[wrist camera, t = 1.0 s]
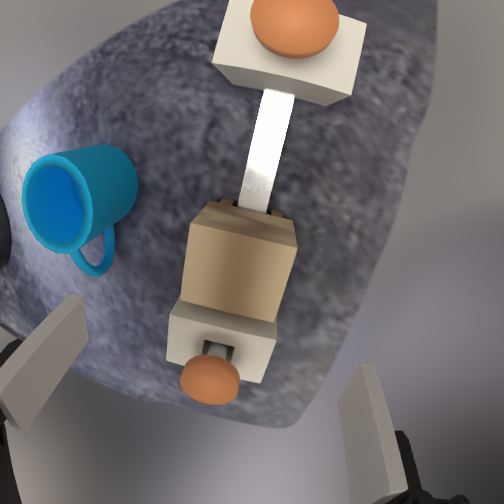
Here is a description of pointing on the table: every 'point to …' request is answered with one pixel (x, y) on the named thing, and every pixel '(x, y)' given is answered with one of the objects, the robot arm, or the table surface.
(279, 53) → the plunger
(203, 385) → the plunger
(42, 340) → the robot arm
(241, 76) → the cabinet
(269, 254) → the block
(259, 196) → the rail
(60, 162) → the mug
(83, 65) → the table surface
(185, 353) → the cabinet
